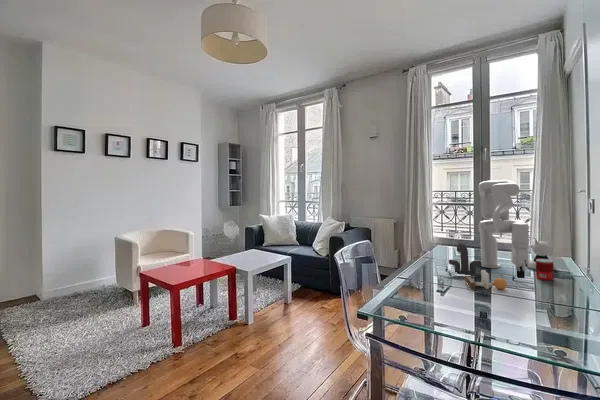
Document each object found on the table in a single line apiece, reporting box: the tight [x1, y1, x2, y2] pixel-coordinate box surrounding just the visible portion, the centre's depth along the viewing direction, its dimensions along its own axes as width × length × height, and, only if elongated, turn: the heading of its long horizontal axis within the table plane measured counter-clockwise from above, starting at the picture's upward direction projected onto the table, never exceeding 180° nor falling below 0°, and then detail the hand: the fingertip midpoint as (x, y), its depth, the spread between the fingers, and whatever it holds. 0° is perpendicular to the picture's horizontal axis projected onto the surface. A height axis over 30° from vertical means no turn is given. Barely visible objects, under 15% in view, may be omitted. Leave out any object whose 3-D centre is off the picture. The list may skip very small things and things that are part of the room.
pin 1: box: [480, 269, 487, 282], centre depth 168 cm, size 2×2×8 cm
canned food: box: [535, 258, 555, 282], centre depth 172 cm, size 8×8×11 cm
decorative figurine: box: [527, 238, 557, 271], centre depth 190 cm, size 15×15×20 cm
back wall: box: [465, 276, 476, 290], centre depth 168 cm, size 12×2×4 cm, turn 163°
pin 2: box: [483, 272, 490, 290], centre depth 163 cm, size 2×2×8 cm
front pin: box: [474, 281, 494, 288], centre depth 166 cm, size 2×2×8 cm
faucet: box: [448, 241, 482, 278], centre depth 191 cm, size 18×16×20 cm
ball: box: [493, 277, 508, 290], centre depth 161 cm, size 6×6×6 cm
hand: (520, 277), depth 162 cm, fingers closed
